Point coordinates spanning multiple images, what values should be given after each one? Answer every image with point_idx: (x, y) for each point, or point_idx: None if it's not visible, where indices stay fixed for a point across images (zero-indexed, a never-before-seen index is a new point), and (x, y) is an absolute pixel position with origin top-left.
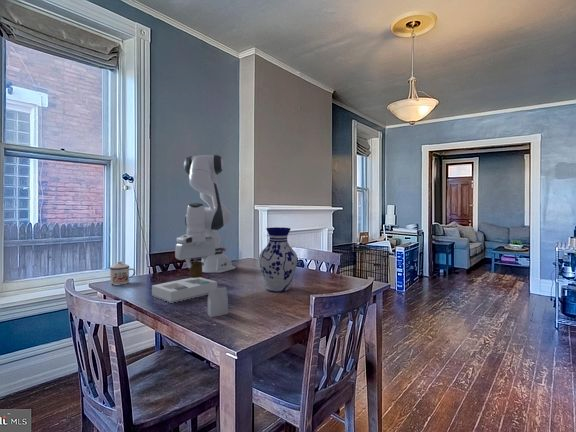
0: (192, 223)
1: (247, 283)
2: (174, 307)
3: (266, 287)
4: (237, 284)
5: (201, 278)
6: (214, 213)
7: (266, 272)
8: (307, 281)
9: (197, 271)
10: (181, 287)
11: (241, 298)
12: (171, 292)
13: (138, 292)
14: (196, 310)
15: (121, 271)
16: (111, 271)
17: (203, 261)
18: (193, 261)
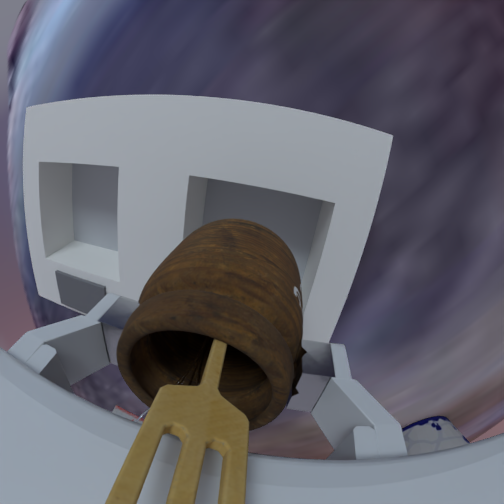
0: None
1: (487, 335)
2: (67, 309)
3: (406, 433)
4: (471, 315)
5: (350, 223)
6: None
7: None
8: (495, 423)
9: (193, 354)
10: (82, 297)
11: (278, 427)
12: (42, 294)
13: (86, 2)
14: (106, 376)
15: None
16: None
17: (319, 421)
18: (203, 334)
